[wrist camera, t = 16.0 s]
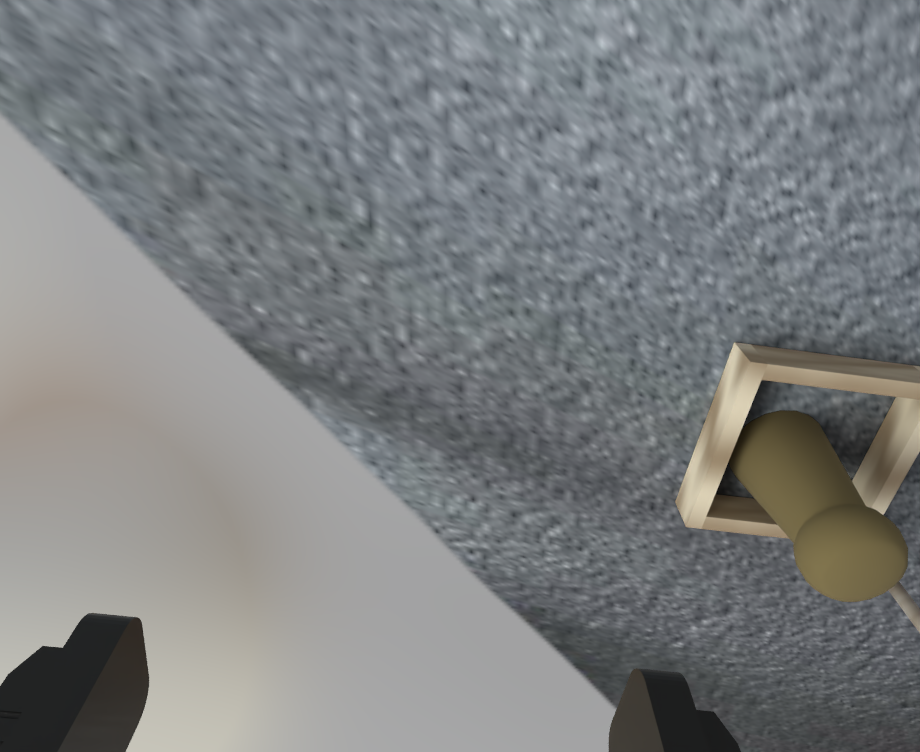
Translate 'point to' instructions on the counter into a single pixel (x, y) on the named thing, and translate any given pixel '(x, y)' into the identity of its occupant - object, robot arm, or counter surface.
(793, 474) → the cork
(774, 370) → the wooden square frame
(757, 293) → the counter surface
